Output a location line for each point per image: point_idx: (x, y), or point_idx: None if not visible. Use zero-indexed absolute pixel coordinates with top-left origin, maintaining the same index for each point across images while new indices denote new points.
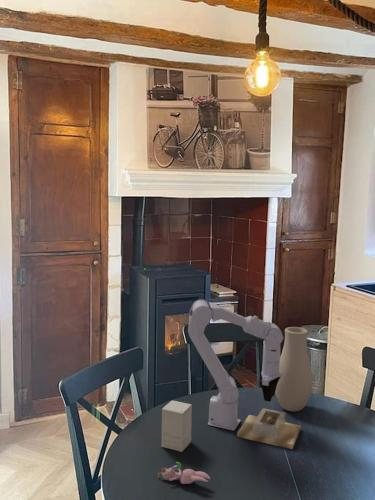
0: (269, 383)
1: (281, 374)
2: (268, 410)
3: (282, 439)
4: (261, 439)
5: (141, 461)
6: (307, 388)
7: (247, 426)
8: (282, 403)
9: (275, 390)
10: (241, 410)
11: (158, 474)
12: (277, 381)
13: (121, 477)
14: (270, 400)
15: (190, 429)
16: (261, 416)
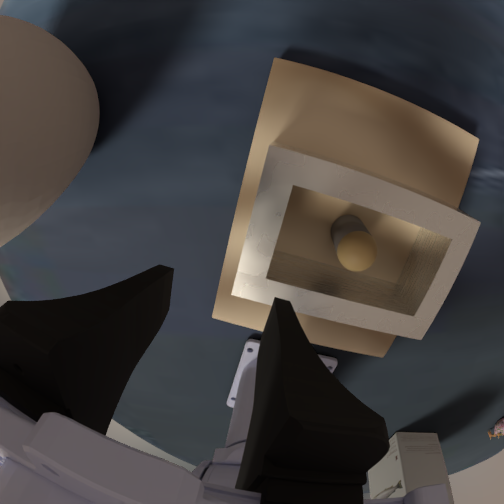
0: (361, 487)
1: (101, 493)
2: (259, 264)
3: (444, 177)
4: None
5: (445, 460)
6: (13, 22)
7: (331, 327)
8: (81, 166)
9: (135, 277)
10: None
11: (499, 434)
12: (91, 333)
13: (475, 458)
14: (292, 307)
15: (407, 461)
16: (351, 306)
